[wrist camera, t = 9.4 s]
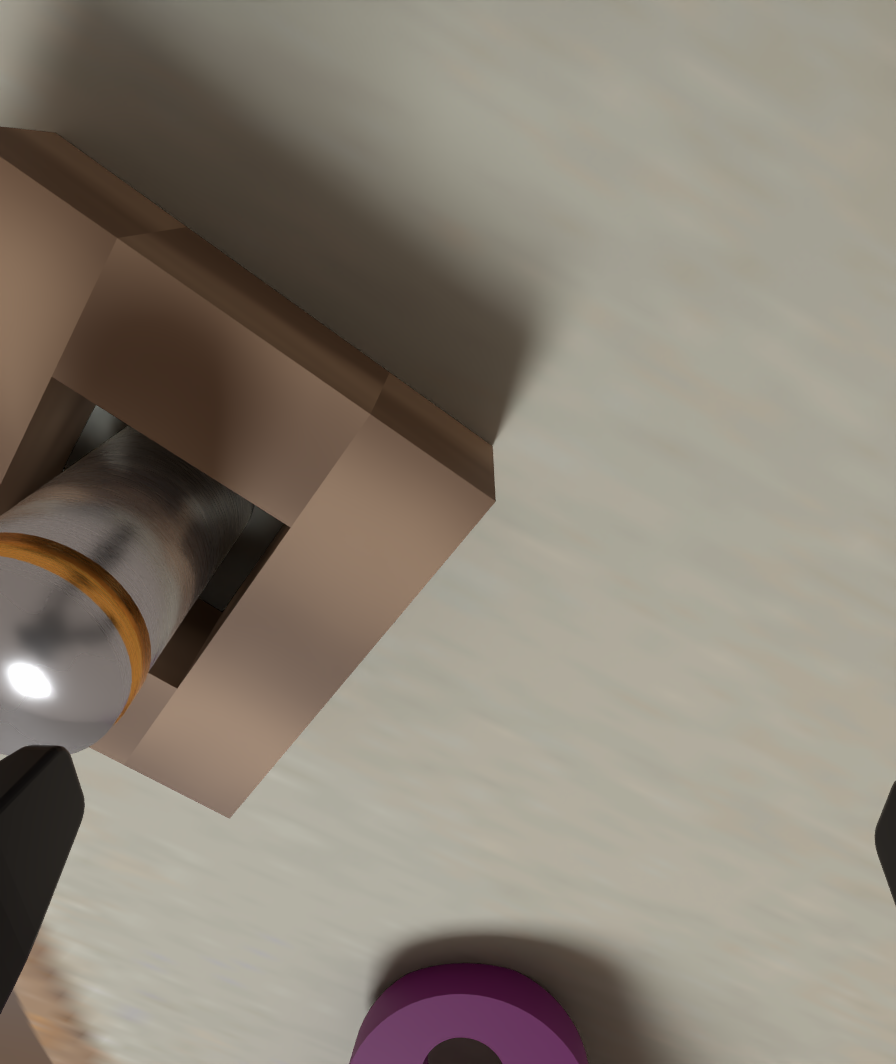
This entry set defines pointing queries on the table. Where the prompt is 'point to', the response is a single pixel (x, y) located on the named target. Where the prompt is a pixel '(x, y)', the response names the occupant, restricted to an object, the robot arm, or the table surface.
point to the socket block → (222, 456)
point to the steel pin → (102, 585)
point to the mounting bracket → (467, 1018)
